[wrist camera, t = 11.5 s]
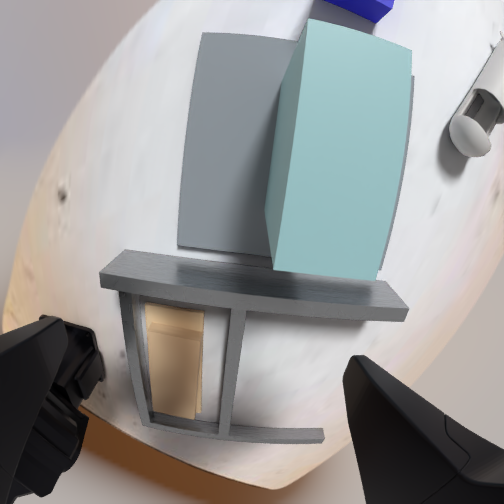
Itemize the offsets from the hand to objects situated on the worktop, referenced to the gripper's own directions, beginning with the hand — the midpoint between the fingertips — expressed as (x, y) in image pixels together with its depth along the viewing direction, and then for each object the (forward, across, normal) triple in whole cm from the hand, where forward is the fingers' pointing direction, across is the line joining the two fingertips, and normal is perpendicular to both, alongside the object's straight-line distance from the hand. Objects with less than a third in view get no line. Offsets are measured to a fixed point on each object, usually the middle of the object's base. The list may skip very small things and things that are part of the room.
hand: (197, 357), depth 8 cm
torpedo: (+11, -20, -17) cm, 28 cm away
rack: (+12, -2, +12) cm, 17 cm away
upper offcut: (+11, +3, +12) cm, 17 cm away
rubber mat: (+11, -4, -6) cm, 14 cm away
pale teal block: (+11, -4, -6) cm, 13 cm away
